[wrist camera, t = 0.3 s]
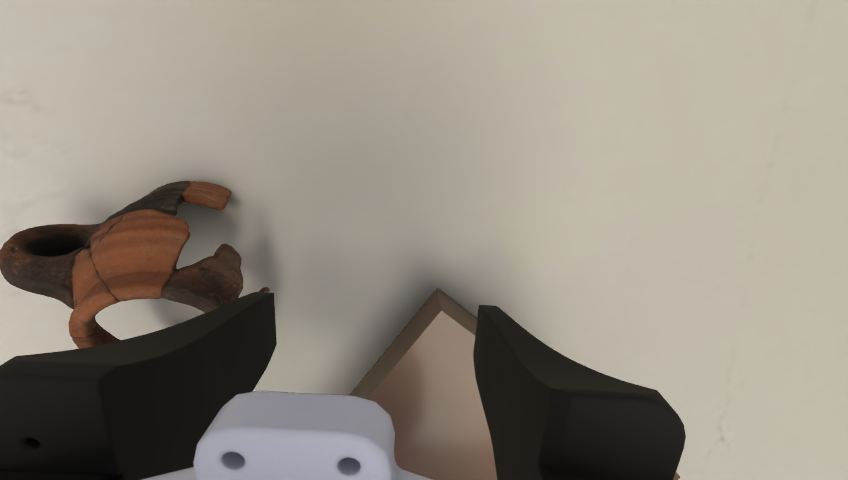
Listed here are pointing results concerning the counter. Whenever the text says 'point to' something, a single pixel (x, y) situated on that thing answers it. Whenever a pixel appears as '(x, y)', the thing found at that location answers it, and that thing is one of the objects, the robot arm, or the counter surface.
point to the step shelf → (435, 395)
